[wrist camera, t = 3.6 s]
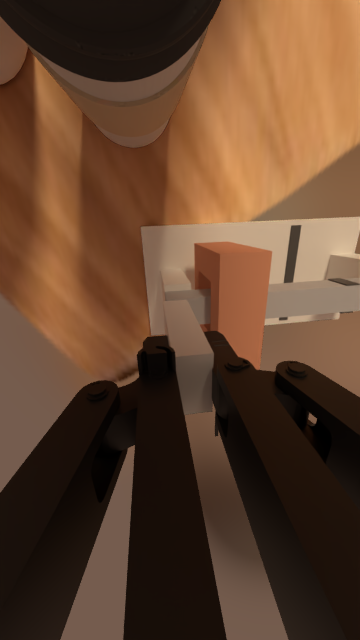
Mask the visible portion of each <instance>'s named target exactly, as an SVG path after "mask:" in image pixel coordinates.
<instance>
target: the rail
mask: <svg viewBox="0 0 360 640" xmlns="http://www.w3.org/2000/svg"><path fill="white" fill-rule="evenodd" d="M359 231H360V217H345V218H323V219H303V220H302V219H300V220H278V221H254V222H232V223H209V224H186V225H164V226H141V236H142V246H143V256H144V266H145V277H146V287H147V297H148V308H149V318H150V328H151V336H152V335H163V334H165V328H164V312H163V301H175V300H187V301H188V303H189V305H190V307H191V309H192V311H193V313H194V315H195V317H196V319H197V321H198V323H199V325H200V324H210V316H211V288H210V289H196V290H195V262H194V243H208V242H227V241H228V242H233V243H237V244H242V245H247V246H251V247H256V248H260V249H265V250H270V251H272V259H271V269H270V278H269V287H268V296H267V306H266V315H265V324H264V325H275V324H286V323H297V322H308V321H319V320H331V319H339V315H340V313H350V312H353V311H360V254H354V253H355V248H356V244H357V240H358V236H359Z"/></svg>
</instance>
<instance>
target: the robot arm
mask: <svg viewBox="0 0 360 640" xmlns="http://www.w3.org/2000/svg"><path fill="white" fill-rule="evenodd" d="M163 312H164V328H165V336H154V337H147V338H146V339H145V341H144V342H143V348H142V349H141V350H140V351H139V352H138V354H137V360H138V369H139V378H138V379H137V380H136V381H134V382H132V383H130V384H128V385H126V386H122V387H119V388H118V387H117V384H115V383H114V382H112V381H107V380H104V381H96V382H93V383H90V384H88V385H87V386H85V387H83V388H82V389H81V390H80V391H79V392H78V393H77V394H76V396H75V397H74V398H73V399H72V401H71V402H70V403H69V405H68V406H67V407H66V409H65V410H64V411H63V412H62V414H61V415H60V416H59V417H58V419H57V420H56V422H55V423H54V424H53V425H52V427H51V428H50V429H49V430H48V432H47V433H46V434H45V436H44V437H43V438H42V440H41V441H40V442H39V443H38V445H37V446H36V447H35V449H34V450H33V451H32V452H31V454H30V455H29V456H28V458H27V459H26V460H25V462H24V463H23V464H22V465H21V467H20V468H19V469H18V471H17V472H16V473H15V475H14V476H13V477H12V478H11V480H10V481H9V482H8V484H7V485H6V486H5V487H4V489H3V490H2V492H1V493H0V640H60V639H61V636H62V633H63V630H64V628H65V625H66V622H67V619H68V616H69V614H70V611H71V608H72V605H73V602H74V600H75V597H76V594H77V591H78V588H79V586H80V583H81V580H82V577H83V574H84V572H85V569H86V566H87V563H88V560H89V557H90V555H91V552H92V549H93V546H94V544H95V541H96V538H97V535H98V532H99V530H100V527H101V524H102V521H103V518H104V516H105V513H106V510H107V507H108V504H109V502H110V499H111V496H112V493H113V490H114V488H115V485H116V482H117V479H118V476H119V473H120V471H121V468H122V465H123V462H124V460H125V457H126V454H127V449H128V448H129V447H131V446H133V445H135V455H134V472H133V489H132V504H131V521H130V538H129V554H128V570H127V587H126V604H125V620H124V638H123V640H227V639H226V633H225V628H224V623H223V617H222V613H221V607H220V602H219V596H218V591H217V586H216V581H215V575H214V570H213V564H212V559H211V554H210V549H209V544H208V538H207V533H206V527H205V522H204V517H203V511H202V506H201V501H200V496H199V490H198V485H197V480H196V474H195V469H194V464H193V459H192V454H191V448H190V443H189V437H188V432H187V427H186V422H185V416H184V415H186V414H195V413H203V412H212V404H214V406H215V409H216V414H215V436H218V430H219V433H220V436H221V439H222V442H223V445H224V448H225V451H226V454H227V457H228V459H229V463H230V466H231V469H232V471H233V475H234V478H235V481H236V484H237V487H238V490H239V492H240V496H241V498H242V501H243V505H244V508H245V511H246V513H247V517H248V520H249V523H250V526H251V529H252V532H253V535H254V537H255V540H256V543H257V546H258V549H259V552H260V555H261V558H262V561H263V564H264V567H265V570H266V573H267V576H268V579H269V582H270V585H271V588H272V591H273V594H274V597H275V600H276V603H277V606H278V609H279V612H280V615H281V618H282V621H283V624H284V626H285V630H286V633H287V636H288V639H289V640H360V397H358V396H356V395H355V394H353V393H352V392H350V391H348V390H347V389H345V388H344V387H342V386H340V385H339V384H337V383H336V382H334V381H332V380H330V379H329V378H328V377H326V376H324V375H323V374H321V373H319V372H318V371H316V370H315V369H313V368H311V367H310V366H308V365H305V364H303V363H300V362H297V361H284V362H281V363H279V364H278V365H277V367H276V371H275V372H271V371H262V370H256V369H255V367H254V366H253V364H252V363H251V362H249V361H248V360H246V359H244V358H241V357H238V356H237V354H236V353H235V351H234V350H233V348H232V347H231V345H229V343H228V341H227V340H226V338H225V337H224V335H223V334H221V333H220V332H218V331H206V332H203V331H202V329H201V327H200V325H199V323H198V321H197V319H196V317H195V315H194V313H193V311H192V309H191V307H190V305H189V303H188V301H187V300H175V301H163ZM309 412H310V413H311V414H312V415H313V416H314V417H316V418H317V422H316V424H313V423H312V422H311V421H309V420H308V417H309Z"/></svg>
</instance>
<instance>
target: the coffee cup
mask: <svg viewBox="0 0 360 640" xmlns="http://www.w3.org/2000/svg"><path fill="white" fill-rule="evenodd" d="M220 2H221V0H0V17H1V18H2V19H3V20H4V21H5V22H6V23H7V24H8V26H9V27H10V28H11V29H12V30H13V31H14V32H15V33H16V34H17V35H18V36H19V37H20V38H22V39H23V40H24V42H25V43H26V45H27V46H28V47H29V49H30V50H31V51H32V53H33V54H34V55H35V57H36V58H37V59H38V60H39V62H40V63H41V64H42V65H43V66H44V67H45V69H46V70H47V71H48V72H49V73H50V74H51V76H52V77H53V78H54V79H55V80H56V81H57V83H58V84H59V85H60V86H61V87H62V88H63V90H64V91H65V92H66V93H67V94H68V95H69V97H70V98H71V99H72V100H73V101H74V102H75V104H76V105H77V106H78V107H79V108H80V109H81V111H82V112H83V113H84V114H85V115H86V116H87V117H88V118H89V119H90V120H91V121H92V122H93V123H94V124H95V125H96V126H97V128H98V129H99V130H100V131H101V132H102V133H103V134H104V135H105V136H106V137H107V138H109V139H110V140H111V141H113V142H115V143H117V144H119V145H121V146H125V147H131V148H138V147H143V146H146V145H148V144H150V143H152V142H153V141H155V140H156V139H157V138H158V137H159V136H160V135H161V134H162V132H163V131H164V129H165V128H166V126H167V124H168V121H169V118H170V116H171V115H172V114H173V112H174V110H175V109H176V107H177V105H178V102H179V100H180V97H181V95H182V92H183V90H184V87H185V85H186V83H187V80H188V78H189V75H190V73H191V70H192V68H193V65H194V63H195V60H196V58H197V56H198V53H199V51H200V48H201V46H202V43H203V41H204V38H205V35H206V32H207V29H208V25H209V23H210V21H211V19H212V18H213V16H214V14H215V12H216V10H217V8H218V6H219V4H220Z"/></svg>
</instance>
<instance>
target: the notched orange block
mask: <svg viewBox="0 0 360 640" xmlns="http://www.w3.org/2000/svg"><path fill="white" fill-rule="evenodd" d="M271 259H272V251H270V250H265V249H260V248H256V247H251V246H247V245H242V244H237V243H233V242H228V241H227V242H208V243H194V262H195V290H196V289H210V288H211V316H210V324H200V327H201V329H202V331H203V332H206V331H218V332H220V333H221V334H223V335H224V337H225V338H226V340H227V341H228V343H229V345H231V347H232V348H233V350H234V351H235V353H236V354H237V356H238V357H241V358H244V359H246V360H248V361H249V362H251V363H252V364H253V366H254V367H255V369H256V370H260V361H261V351H262V343H263V333H264V324H265V315H266V306H267V296H268V287H269V278H270V269H271Z"/></svg>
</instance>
